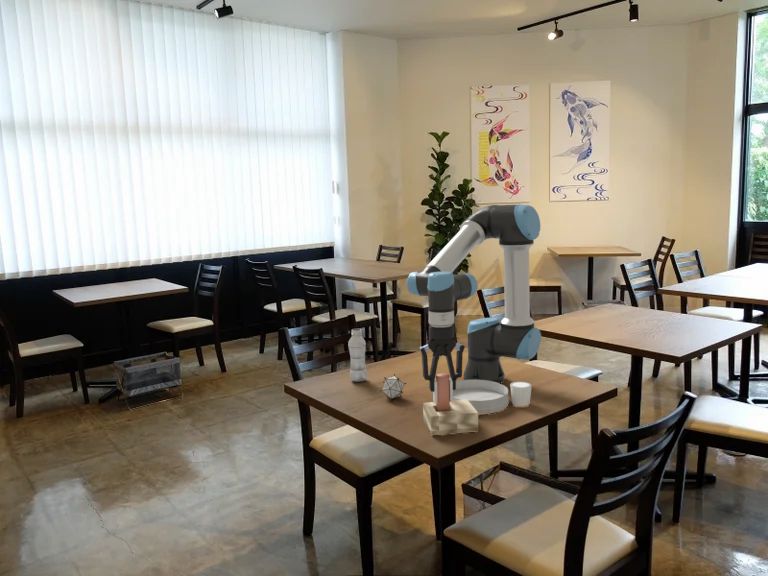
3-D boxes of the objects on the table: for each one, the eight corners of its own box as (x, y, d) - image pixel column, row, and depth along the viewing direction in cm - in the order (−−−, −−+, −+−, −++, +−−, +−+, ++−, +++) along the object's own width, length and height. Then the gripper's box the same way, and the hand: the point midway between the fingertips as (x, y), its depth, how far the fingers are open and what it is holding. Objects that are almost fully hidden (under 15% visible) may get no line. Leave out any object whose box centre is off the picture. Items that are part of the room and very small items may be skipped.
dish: (478, 388, 219) (478, 375, 218) (523, 406, 200) (523, 391, 199) (428, 402, 207) (428, 387, 206) (471, 421, 189) (471, 406, 188)
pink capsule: (448, 411, 186) (447, 372, 184) (451, 415, 182) (450, 376, 180) (435, 412, 185) (434, 373, 183) (438, 416, 181) (437, 377, 179)
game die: (392, 406, 214) (396, 379, 218) (409, 403, 208) (412, 375, 212) (373, 399, 209) (377, 371, 213) (389, 395, 203) (393, 367, 207)
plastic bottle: (367, 383, 228) (365, 331, 225) (349, 384, 228) (346, 331, 225) (368, 378, 234) (366, 327, 231) (350, 378, 235) (348, 328, 231)
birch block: (467, 417, 191) (467, 399, 190) (478, 432, 179) (477, 412, 178) (423, 421, 189) (422, 402, 188) (431, 436, 178) (431, 416, 177)
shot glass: (519, 410, 196) (519, 389, 195) (505, 403, 202) (505, 383, 201) (536, 405, 199) (536, 385, 198) (522, 399, 205) (522, 379, 204)
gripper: (415, 329, 174) (417, 407, 178) (473, 325, 176) (474, 402, 180) (410, 323, 182) (412, 398, 185) (466, 320, 184) (467, 394, 187)
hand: (442, 400), depth 183 cm, fingers closed on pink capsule, 4 cm apart
